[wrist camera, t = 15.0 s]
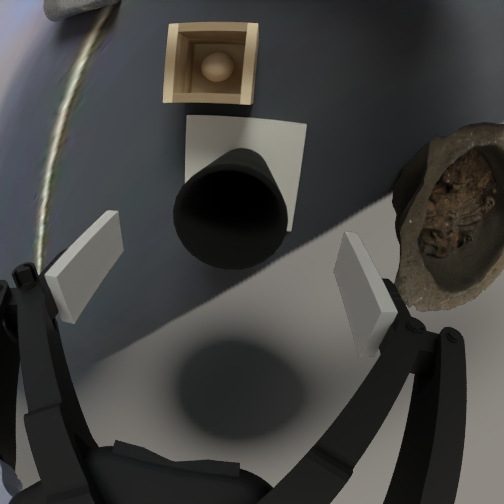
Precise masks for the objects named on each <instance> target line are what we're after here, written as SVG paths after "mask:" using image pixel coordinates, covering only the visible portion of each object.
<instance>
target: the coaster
mask: <svg viewBox="0 0 504 504" xmlns="http://www.w3.org/2000/svg"><path fill="white" fill-rule="evenodd" d="M306 127H307V124H304V123H297V122H289V121H281V120H272V119H262V118H251V117H237V116H220V115H187V121H186V149H185V183H186V182H187V181H188V180H189V179H190V178H191V177H192V176H193V175H194V174H196V173H197V172H199V171H200V170H201V169H203V168H204V167H206V166H207V165H209V164H210V163H212V162H213V161H215V160H216V159H218V158H219V157H221V156H222V155H224V154H225V153H227V152H229V151H230V150H233V149H237V148H246V149H251V150H253V151H255V152H257V153H258V154H259V155H261V156H262V157H263V159H264V160H265V161H266V163H267V165H268V167H269V169H270V171H271V173H272V175H273V177H274V179H275V181H276V183H277V185H278V187H279V189H280V192H281V194H282V196H283V198H284V201H285V204H286V206H287V213H288V226H287V231H291V230H292V223H293V217H294V211H295V204H296V198H297V191H298V185H299V178H300V171H301V164H302V157H303V150H304V143H305V135H306Z"/></svg>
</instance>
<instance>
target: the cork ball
mask: <svg viewBox="0 0 504 504" xmlns="http://www.w3.org/2000/svg"><path fill="white" fill-rule="evenodd" d="M201 70H202V73H203V75H204V76H205V77H206V78H207V79H208V80H210V81H214V82H220V81H223V80H226V79H227V78H229V77H230V75H231V74H232V72H233V70H234V64H233V61H232V59H231V58H230V57H229V56H228V55H227V54H225V53H221V52H216V53H212V54H210V55H208V56H207V57H206V58H205V59H204V60H203V62H202V65H201Z"/></svg>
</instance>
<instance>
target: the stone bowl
mask: <svg viewBox="0 0 504 504" xmlns="http://www.w3.org/2000/svg"><path fill="white" fill-rule="evenodd" d="M392 204H393V207H394V209H395V211H396V214H397V216H396V221H395V229H396V235H397V238H398V241H399V244H400V263H399V269H398V272H397V275H396V279H395V283H394V285H395V286H396V288H397V290H398V292H399V294H400V295H401V297H402V299H403V301H404V303H405V305H407V306H408V307H411V306H412V305H414V306H415V307H416V309H417V310H418V311H421V312H425V311H437V310H450V309H452V308H455V307H457V306H459V305H463V304H465V303H466V302H468V301H471V300H473V299H475V298H476V297H477V296H478V295H479V294H480V293H481V292H482V291H483V290H485V289H486V288H487V287H488V286H489V285H491V283H492V282H493V281H494V280H495V278H497V277H498V276H499V275H500V273H501V272H502V270H503V269H504V124H495V123H487V122H483V123H477V124H470V125H467V126H464V127H462V128H460V129H458V130H457V131H456V132H454V133H453V134H452V135H451V136H449V137H447V138H445V137H438V136H437V135H436V136H435V138H434V139H432V140H431V141H430V142H429V143H428V144H426V145H425V146H424V147H423V148H422V149H421V150H420V151H419V153H418V154H417V155H416V156H415V157H414V158H413V159H412V160H410V161H409V162H408V163H407V165H406V166H405V167H404V168H403V170H402V173H401V177H400V178H399V180H398V181H397V183H396V185H395V188H394V191H393V199H392Z"/></svg>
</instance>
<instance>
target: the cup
mask: <svg viewBox="0 0 504 504" xmlns="http://www.w3.org/2000/svg"><path fill="white" fill-rule="evenodd" d="M173 217H174V225H175V229H176V232H177V235H178V237H179V239H180V240H181V242H182V244H183V245H184V247H185V248H186V249H187V250H188V251H189V252H190V253H191V254H192V255H193V256H195V257H196V258H198V259H199V260H200V261H202V262H204V263H206V264H209V265H211V266H213V267H217V268H222V269H244V268H249V267H253V266H255V265H257V264H259V263H261V262H264V261H265V260H266V259H268V258H269V257H270V256H271V255H273V254H274V253H275V251H276V250H277V249H278V248H279V246H280V245H281V244H282V241H283V239H284V237H285V235H286V232H287V226H288V213H287V206H286V204H285V201H284V198H283V196H282V194H281V192H280V189H279V187H278V185H277V183H276V181H275V179H274V177H273V175H272V173H271V171H270V169H269V167H268V165H267V163H266V161H265V160H264V159H263V157H262V156H261V155H259V154H258V153H257V152H255V151H253V150H251V149H246V148H237V149H233V150H230V151H229V152H227V153H225V154H224V155H222V156H221V157H219V158H218V159H216V160H215V161H213V162H212V163H210V164H209V165H207V166H206V167H204V168H203V169H201V170H200V171H199V172H197V173H196V174H194V175H193V176H192V177H191V178H190V179H189V180H188V181H187V182H186V183H185V184H184V185H183V186H182V188H181V190H180V192H179V193H178V195H177V197H176V201H175V205H174V209H173Z"/></svg>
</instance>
